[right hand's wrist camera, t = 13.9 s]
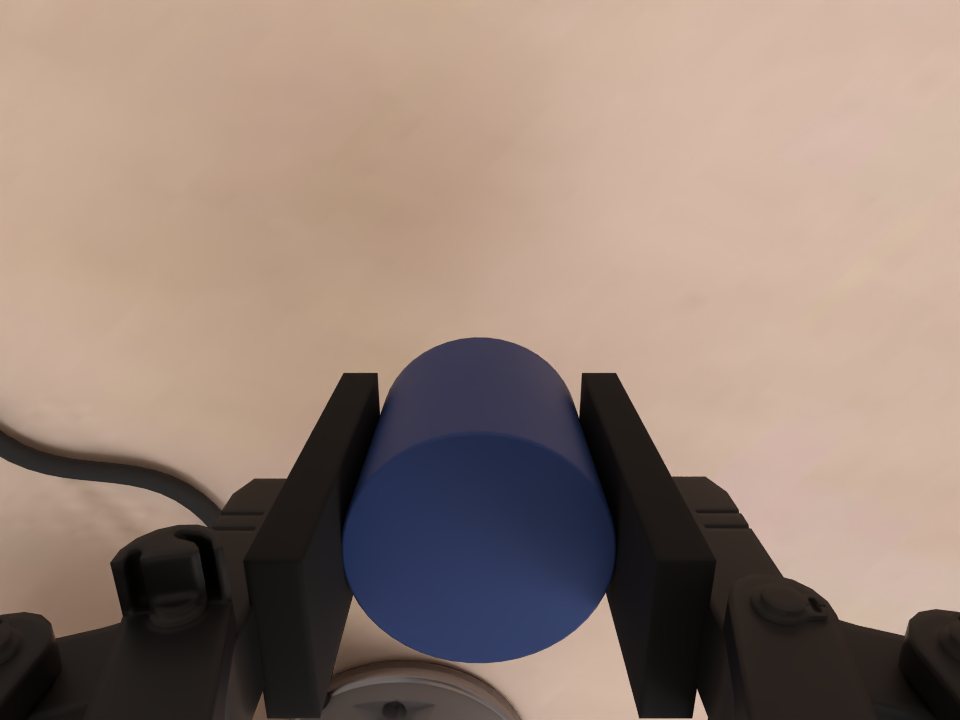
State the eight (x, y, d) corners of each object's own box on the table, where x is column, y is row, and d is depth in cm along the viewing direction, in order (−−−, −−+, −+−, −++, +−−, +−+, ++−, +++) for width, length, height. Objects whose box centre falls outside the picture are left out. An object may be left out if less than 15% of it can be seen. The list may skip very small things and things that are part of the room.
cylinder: (341, 419, 15) (281, 543, 11) (491, 295, 14) (496, 375, 10) (469, 544, 16) (464, 704, 12) (616, 439, 15) (672, 570, 11)
